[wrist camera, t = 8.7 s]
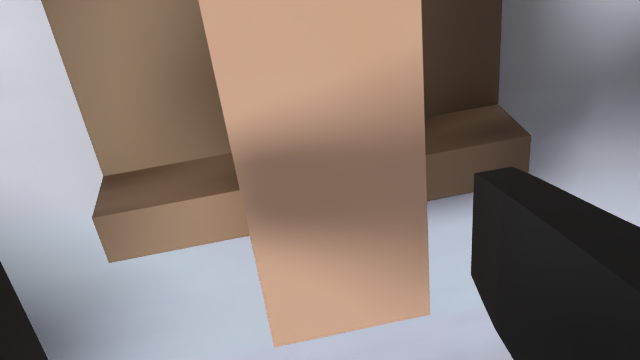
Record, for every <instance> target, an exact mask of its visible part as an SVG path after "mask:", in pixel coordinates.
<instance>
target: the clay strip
mask: <svg viewBox="0 0 640 360" xmlns="http://www.w3.org/2000/svg"><path fill="white" fill-rule="evenodd" d="M198 1H199V6H200V10H201V15H202V19H203V24H204V28H205V33H206V38H207V42H208V47H209V51H210V56H211V60H212V65H213V70H214V74H215V79H216V83H217V88H218V92H219V97H220V102H221V106H222V111H223V115H224V120H225V124H226V129H227V133H228V138H229V143H230V147H231V152H232V156H233V161H234V165H235V170H236V175H237V179H238V184H239V188H240V193H241V197H242V202H243V206H244V211H245V216H246V220H247V225H248V229H249V234H250V238H251V243H252V248H253V252H254V257H255V261H256V266H257V270H258V275H259V280H260V284H261V289H262V293H263V298H264V302H265V307H266V311H267V316H268V321H269V325H270V330H271V334H272V339H273V343H274V347H278V346H283V345H288V344H292V343H297V342H302V341H307V340H311V339H316V338H321V337H326V336H330V335H335V334H340V333H345V332H349V331H354V330H359V329H364V328H368V327H373V326H378V325H383V324H387V323H392V322H397V321H402V320H406V319H411V318H416V317H421V316H425V315H430V293H429V258H428V223H427V188H426V152H425V117H424V82H423V47H422V12H421V0H198Z"/></svg>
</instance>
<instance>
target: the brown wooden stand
mask: <svg viewBox="0 0 640 360" xmlns="http://www.w3.org/2000/svg"><path fill="white" fill-rule="evenodd" d="M41 1H42V4H43V7H44V9H45V12H46V15H47V18H48V21H49V24H50V26H51V29H52V32H53V35H54V38H55V41H56V43H57V46H58V49H59V52H60V55H61V58H62V60H63V63H64V66H65V69H66V72H67V75H68V77H69V80H70V83H71V86H72V89H73V91H74V94H75V97H76V100H77V103H78V106H79V108H80V111H81V114H82V117H83V120H84V123H85V125H86V128H87V131H88V134H89V137H90V140H91V142H92V145H93V148H94V151H95V154H96V157H97V159H98V162H99V165H100V168H101V171H102V173H103V180H102V183H101V187H100V191H99V194H98V198H97V202H96V205H95V209H94V213H93V216H92V220H93V222H94V225H95V227H96V230H97V233H98V235H99V238H100V240H101V243H102V246H103V248H104V251H105V254H106V256H107V259H108V261H109V263H111V262H116V261H121V260H127V259H132V258H137V257H142V256H147V255H152V254H157V253H163V252H168V251H173V250H178V249H183V248H188V247H193V246H198V245H204V244H209V243H214V242H219V241H224V240H229V239H234V238H240V237H245V236H250V234H249V229H248V225H247V220H246V216H245V211H244V206H243V202H242V197H241V193H240V188H239V184H238V179H237V175H236V170H235V165H234V161H233V156H232V152H231V147H230V143H229V138H228V133H227V129H226V124H225V120H224V115H223V111H222V106H221V102H220V97H219V92H218V88H217V83H216V79H215V74H214V70H213V65H212V60H211V56H210V51H209V47H208V42H207V38H206V33H205V28H204V24H203V19H202V15H201V10H200V6H199V1H198V0H41ZM421 12H422V47H423V82H424V117H425V152H426V188H427V201H430V200H435V199H440V198H445V197H450V196H455V195H461V194H466V193H471V192H474V173H479V172H484V171H489V170H495V169H500V168H506V167H511V166H512V167H514V168H517V169H519V170H522V171H524V172H526V173H528V170H529V156H530V143H531V135H530V134H529V133H528V132H527V131H526V130H525V129H524V128H522V127H521V126H520V125H519V124H518V123H517V122H516V121H515V120H514V119H513V118H512V117H511V116H510V115H509V114H508V113H507V112H506V111H505V110H503V109H502V108H501V107H500V106H499V105H498V89H499V65H500V40H501V15H502V0H421Z"/></svg>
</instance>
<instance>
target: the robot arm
mask: <svg viewBox="0 0 640 360" xmlns="http://www.w3.org/2000/svg"><path fill="white" fill-rule="evenodd" d="M471 276H472V278H473V280H474V283H475V285H476V287H477V290H478V292H479V294H480V297H481V299H482V301H483V304H484V306H485V308H486V310H487V312H488V314H489V317H490V319H491V321H492V323H493V325H494V327H495V329H496V331H497V333H498V334H499V336H500V338H501V339H502V341H503V343H504V344H505V346H506V348H507V349H508V351H509V353H510V354H511V356H512V358H513V359H514V360H640V227H638V226H636V225H634V224H632V223H629V222H627V221H625V220H623V219H621V218H619V217H617V216H615V215H613V214H611V213H608V212H606V211H604V210H602V209H600V208H598V207H596V206H594V205H592V204H590V203H588V202H586V201H584V200H582V199H580V198H578V197H576V196H574V195H572V194H570V193H568V192H566V191H564V190H562V189H560V188H558V187H556V186H554V185H552V184H549V183H547V182H545V181H543V180H541V179H539V178H537V177H535V176H533V175H531V174H528V173H526V172H524V171H522V170H519V169H517V168H514V167H512V166H511V167H506V168H500V169H495V170H489V171H484V172H479V173H474V195H473V228H472V260H471ZM0 360H48V358H47V356H46V354H45V352H44V350H43V348H42V346H41V344H40V342H39V340H38V338H37V336H36V334H35V332H34V330H33V328H32V325H31V323H30V321H29V319H28V317H27V315H26V313H25V311H24V309H23V307H22V305H21V303H20V301H19V299H18V297H17V295H16V293H15V290H14V288H13V286H12V284H11V282H10V280H9V278H8V276H7V274H6V272H5V270H4V268H3V266H2V264H1V262H0Z"/></svg>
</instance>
